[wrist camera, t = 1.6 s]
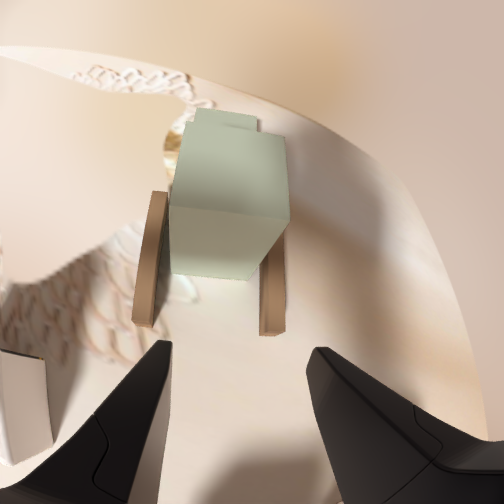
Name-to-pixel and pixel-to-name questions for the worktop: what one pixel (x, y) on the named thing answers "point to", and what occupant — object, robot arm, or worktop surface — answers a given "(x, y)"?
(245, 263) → the key block
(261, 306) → the walnut slot
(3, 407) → the medicine bottle
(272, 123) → the worktop surface
